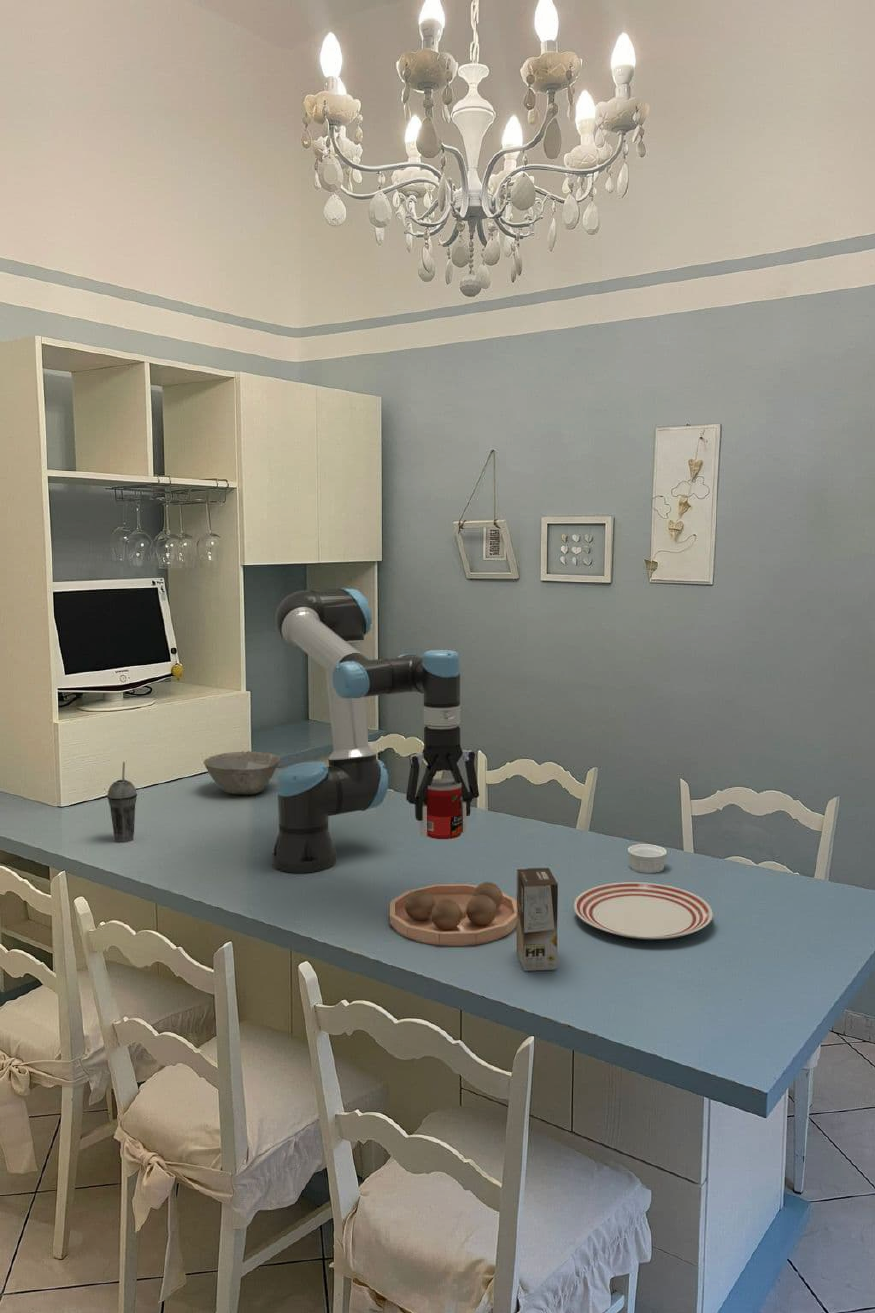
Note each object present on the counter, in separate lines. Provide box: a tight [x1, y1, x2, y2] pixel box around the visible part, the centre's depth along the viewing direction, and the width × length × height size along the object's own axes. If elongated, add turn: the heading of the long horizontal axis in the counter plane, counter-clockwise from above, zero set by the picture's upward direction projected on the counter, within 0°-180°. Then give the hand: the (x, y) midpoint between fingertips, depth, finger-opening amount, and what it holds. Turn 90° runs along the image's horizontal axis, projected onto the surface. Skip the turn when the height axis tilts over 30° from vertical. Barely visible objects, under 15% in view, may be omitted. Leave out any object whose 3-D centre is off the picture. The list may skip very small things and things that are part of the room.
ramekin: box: [627, 843, 667, 874], centre depth 232 cm, size 9×9×4 cm
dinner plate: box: [573, 881, 714, 940], centre depth 201 cm, size 27×27×3 cm
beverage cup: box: [106, 761, 138, 843], centre depth 253 cm, size 7×7×20 cm
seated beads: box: [405, 881, 503, 931], centre depth 201 cm, size 18×18×6 cm
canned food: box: [424, 778, 463, 840], centre depth 207 cm, size 8×8×11 cm
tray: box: [389, 883, 517, 947], centre depth 202 cm, size 26×26×2 cm
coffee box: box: [516, 867, 559, 972], centre depth 182 cm, size 9×6×16 cm
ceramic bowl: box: [203, 750, 281, 796], centre depth 298 cm, size 22×23×10 cm
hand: (443, 833), depth 208 cm, fingers closed on canned food, 8 cm apart
